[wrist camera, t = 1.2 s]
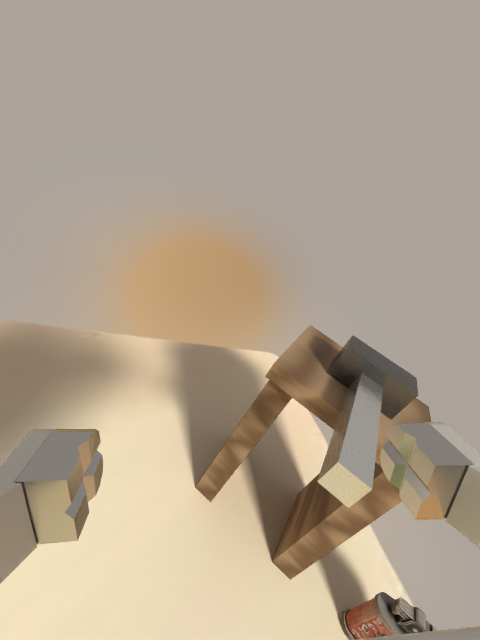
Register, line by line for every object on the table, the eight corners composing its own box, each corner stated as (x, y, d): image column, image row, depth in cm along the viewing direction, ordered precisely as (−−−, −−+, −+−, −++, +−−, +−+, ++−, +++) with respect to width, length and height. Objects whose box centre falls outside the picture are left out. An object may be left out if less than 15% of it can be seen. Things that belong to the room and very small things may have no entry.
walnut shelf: (188, 489, 42) (274, 362, 30) (234, 432, 54) (310, 324, 42) (291, 590, 38) (442, 490, 25) (317, 503, 49) (428, 406, 37)
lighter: (337, 631, 36) (391, 606, 32) (343, 602, 39) (393, 576, 34) (396, 692, 34) (464, 675, 29) (398, 657, 37) (459, 637, 32)
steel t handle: (284, 454, 21) (315, 420, 19) (333, 359, 36) (352, 335, 34) (385, 539, 19) (430, 510, 17) (392, 401, 34) (416, 377, 32)
